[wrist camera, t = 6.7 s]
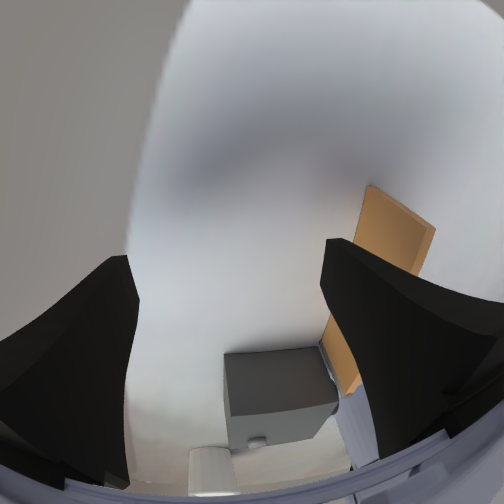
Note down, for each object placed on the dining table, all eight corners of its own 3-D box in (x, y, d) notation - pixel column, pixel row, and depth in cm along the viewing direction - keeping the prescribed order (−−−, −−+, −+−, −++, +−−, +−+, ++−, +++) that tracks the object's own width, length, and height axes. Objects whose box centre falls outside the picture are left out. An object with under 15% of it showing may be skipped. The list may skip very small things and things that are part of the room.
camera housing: (331, 344, 20) (357, 403, 15) (310, 390, 23) (327, 439, 19) (223, 354, 18) (231, 423, 14) (223, 400, 22) (230, 454, 17)
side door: (327, 344, 20) (350, 397, 15) (317, 345, 19) (339, 400, 15) (377, 187, 13) (437, 228, 9) (365, 185, 13) (425, 227, 9)
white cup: (189, 458, 31) (192, 498, 25) (181, 445, 28) (183, 492, 22) (234, 457, 32) (240, 496, 26) (234, 444, 29) (241, 490, 23)
